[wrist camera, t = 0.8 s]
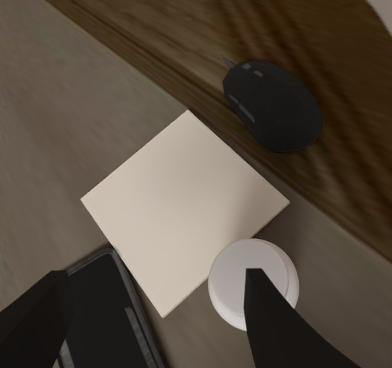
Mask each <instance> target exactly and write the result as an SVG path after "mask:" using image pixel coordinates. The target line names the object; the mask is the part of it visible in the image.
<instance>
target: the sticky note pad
mask: <svg viewBox="0 0 392 368" xmlns="http://www.w3.org/2000/svg"><path fill="white" fill-rule="evenodd" d="M80 200H81V201H82V202H83V204H84V205H85V207H86V208H87V210H88V211H89V213H90V214H91V215H92V217H93V218H94V220H95V221H96V223H97V224H98V226H99V227H100V228H101V230H102V231H103V233H104V234H105V236H106V237H107V239H108V240H109V241H110V243H111V244H112V246H113V247H114V249H115V250H116V252H117V253H118V254H119V256H120V257H121V259H122V260H123V262H124V263H125V265H126V266H127V267H128V269H129V270H130V272H131V273H132V275H133V276H134V278H135V279H136V280H137V282H138V283H139V285H140V286H141V288H142V289H143V291H144V292H145V293H146V295H147V296H148V298H149V299H150V301H151V302H152V304H153V305H154V306H155V308H156V309H157V311H158V312H159V314H160V315H161V317H162V318H164V317H165V316H167V315H168V314H169V313H170V312H171V311H172V310H173V309H174V308H175V307H176V306H178V305H179V304H180V303H181V302H182V301H183V300H184V299H185V298H186V297H187V296H189V295H190V294H191V293H192V292H193V291H194V290H195V289H196V288H197V287H198V286H200V285H201V284H202V283H203V282H204V281H205V280H206V279H207V278H208V277H209V272H210V269H211V266H212V264H213V262H214V260H215V258H216V257H217V255H218V254H219V253H220V252H221V251H222V250H223V249H224V248H225V247H226V246H227V245H229V244H230V243H232V242H234V241H237V240H241V239H251V238H252V237H253V236H254V235H256V234H257V233H258V232H259V231H260V230H261V229H262V228H263V227H264V226H265V225H267V224H268V223H269V222H270V221H271V220H272V219H273V218H274V217H275V216H276V215H278V214H279V213H280V212H281V211H282V210H283V209H284V208H285V207H286V206H287V205H289V204H290V201H289V200H288V199H286V198H285V197H284V196H283V195H282V194H281V193H280V192H279V191H278V190H276V189H275V188H274V187H273V186H272V185H271V184H270V183H269V182H268V181H266V180H265V179H264V178H263V177H262V176H261V175H260V174H259V173H258V172H256V171H255V170H254V169H253V168H252V167H251V166H250V165H249V164H248V163H246V162H245V161H244V160H243V159H242V158H241V157H240V156H239V155H238V154H236V153H235V152H234V151H233V150H232V149H231V148H230V147H229V146H228V145H226V144H225V143H224V142H223V141H222V140H221V139H220V138H219V137H218V136H216V135H215V134H214V133H213V132H212V131H211V130H210V129H209V128H208V127H206V126H205V125H204V124H203V123H202V122H201V121H200V120H199V119H198V118H196V117H195V116H194V115H193V114H192V113H191V112H190V111H189V110H187V111H185V112H184V113H183V114H182V115H181V116H179V117H178V118H177V119H176V120H175V121H173V122H172V123H171V124H170V125H169V126H167V127H166V128H165V129H164V130H163V131H161V132H160V133H159V134H158V135H157V136H156V137H154V138H153V139H152V140H151V141H150V142H148V143H147V144H146V145H145V146H144V147H142V148H141V149H140V150H139V151H138V152H136V153H135V154H134V155H133V156H132V157H130V158H129V159H128V160H127V161H126V162H124V163H123V164H122V165H121V166H120V167H118V168H117V169H116V170H115V171H114V172H112V173H111V174H110V175H109V176H108V177H106V178H105V179H104V180H103V181H102V182H100V183H99V184H98V185H97V186H96V187H94V188H93V189H92V190H91V191H90V192H88V193H87V194H86V195H85V196H84V197H83V198H81V199H80Z"/></svg>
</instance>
